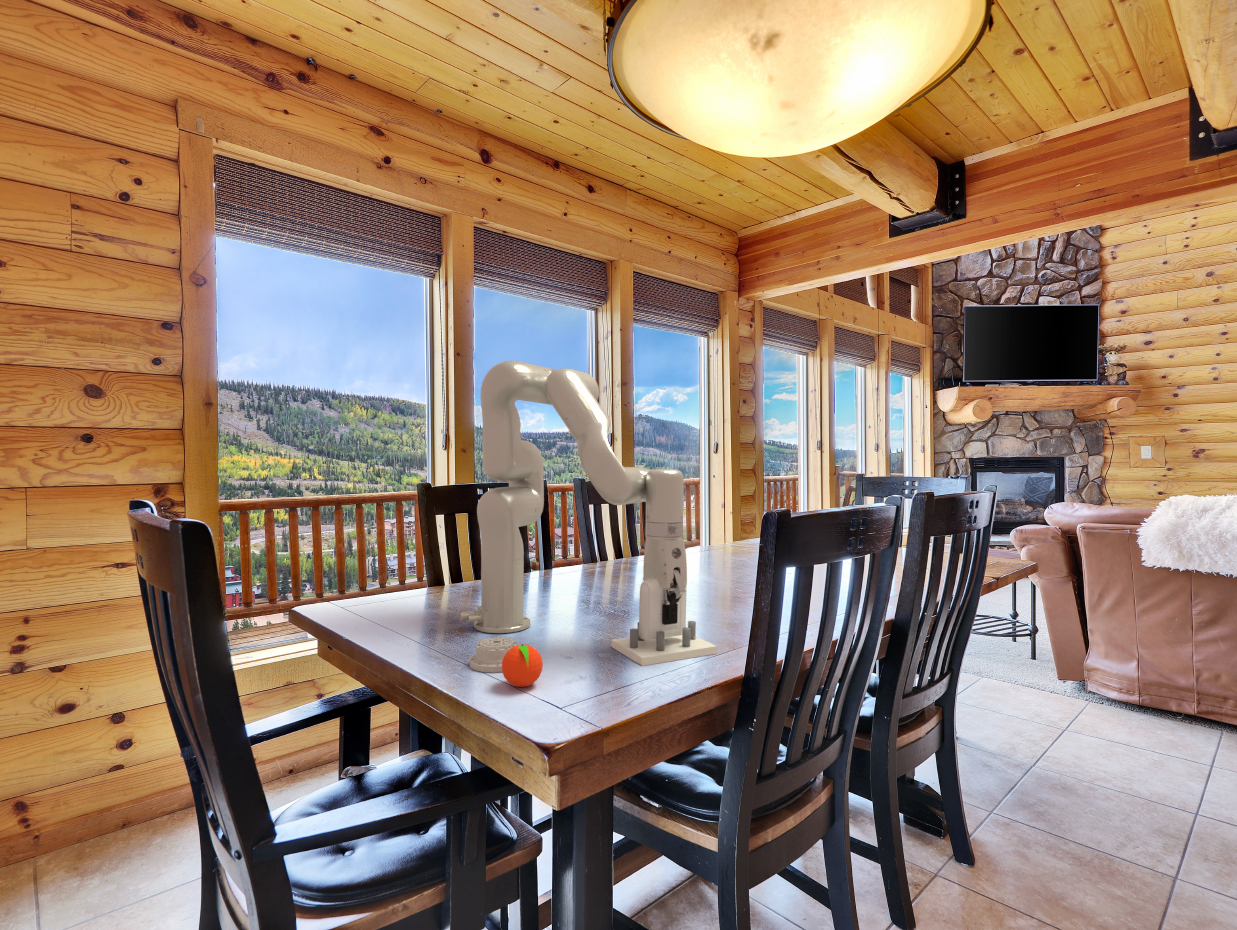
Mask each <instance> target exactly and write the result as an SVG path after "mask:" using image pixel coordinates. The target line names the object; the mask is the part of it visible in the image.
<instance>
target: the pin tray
mask: <svg viewBox="0 0 1237 930" xmlns="http://www.w3.org/2000/svg"><path fill="white" fill-rule="evenodd" d="M696 623H697V622H696V621H694V620H688V621H687V627H685V628H682V635H679V636H673V637H667V638H665V632H664V631H657V632H656V639H655V640H649V641H647V640H643V639H641V638H640V636H639V621H637V628H634V627H633V628H630V629H629V636H627V637H622V638H615V639H614V638H613V639H611V641H610V643H611V647H610V648H612V649H614V650H615V651H617V652H618V653H621V654H623V655H624V656H625V657H627V658H629V659H630V660H632V661H634V662H635V663H637V664H639V665H640V666H642V667H643V666H649V665H650V666H651V665H655V664H663V663H669V662H672V661H681V660H686V659H693V658H699V657H705V656H711V655H716V654H718V646H717V645H715V644H714V643H712V642H708V641H707V640H704V639H702V638H700V637H698V636H696V632H697V631H696V629H697V628H696V627H697V625H696Z"/></svg>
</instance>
